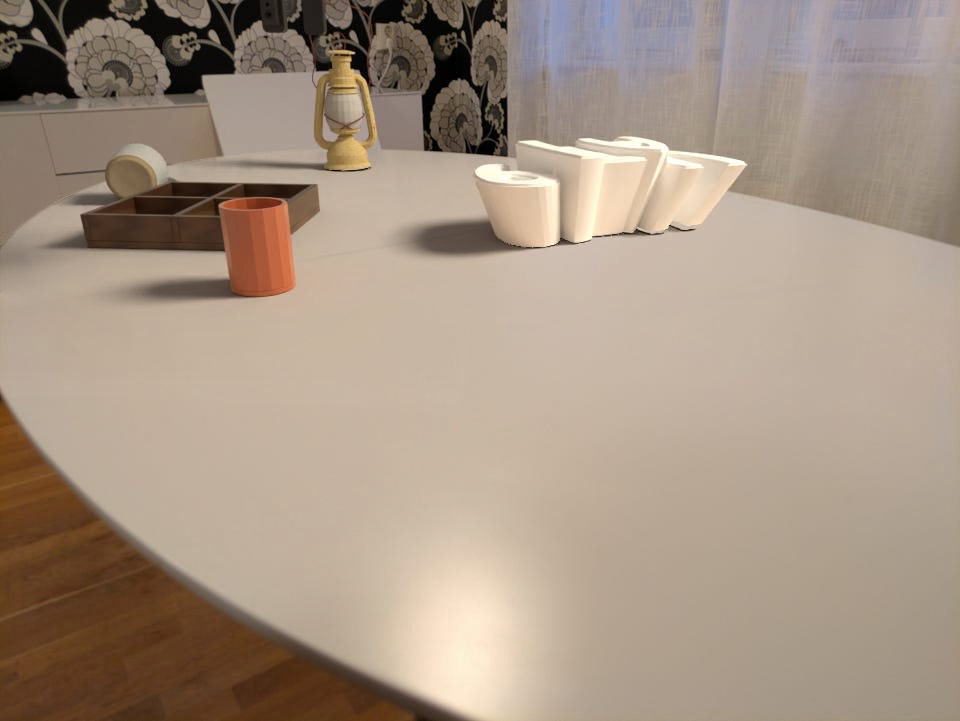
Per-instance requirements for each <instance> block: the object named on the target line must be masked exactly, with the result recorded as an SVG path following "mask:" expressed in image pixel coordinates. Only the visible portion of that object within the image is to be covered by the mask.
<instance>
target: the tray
mask: <svg viewBox="0 0 960 721" xmlns="http://www.w3.org/2000/svg"><path fill="white" fill-rule="evenodd" d="M319 195H320V194H319V185H318V183H280V182H279V183H277V182H275V183H274V182H273V183H272V182H228V181H227V182H222V181H221V182H220V181H181V182H173V181H168V182H165V183H163V184H160V185H157V186H155V187H152V188H149V189H147V190H144V191H141V192H139V193H136V194H133V195H131V196H128V197H126V198H123V199H120V198H119V199H118V200H115V201H112V202H110V203H107V204H105V205H101V206H99V207H96V208H94V209H91V210H89V211H86V212H83V213H80V214H79V216H80V217H79V218H80V221H81V224H82V229H83V233H84V238H85V241H86V245H87V246H86V247H87V248H93V247H94V248H97V249H100V248H101V249H141V250H144V249H147V250H190V251H193V250H194V251H197V250H198V251H225V246H224V240H223V233H222V226H221V220H220V213H219V206H218V205H219V204H220V203H222V202H225V201H229V200H233V199H240V198H251V197H271V198H279V199H283V200H286V202H287V206H288V215H289V224H290V233H291V236H292V235H293V234H294V233H295V232H296V231H298V230H299V229H300V228H301V227H303V226H304V225H305V224H306V223H308V222H309V221H310V220H311V219H312V218H314V217H315V216H316V215H317V214H318V213H319V212H321V208H320V196H319ZM94 248H93V249H94Z"/></svg>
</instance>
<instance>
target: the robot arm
mask: <svg viewBox="0 0 960 721" xmlns="http://www.w3.org/2000/svg"><path fill="white" fill-rule="evenodd" d="M286 2H287V1H286V0H259V9H260V18H261V27H262V30H263V31H264V32H265V33H267V34H286V33H287V32H288V30H289V24H288V14H287V13H288V12H287V4H286ZM325 3H326V0H301V8H302V18H303V19H302V20H303V30H304V32H305V34H307V35H308V36H309V35H310V36H325V35H326V34H327V32H328V27H327V12H326V5H325Z"/></svg>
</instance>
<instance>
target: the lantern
mask: <svg viewBox="0 0 960 721" xmlns="http://www.w3.org/2000/svg"><path fill="white" fill-rule="evenodd" d="M330 2H331V0H328V1H327V2H325V6H326V5H328V4H329V3H330ZM340 2H341V3H342V4H344V5H346V6H348V7H350V8H352V9H355V10H356V11H359V12H360V13H363V14H364V15H365V16H366V17H367V19H368V23H369V27H370V34H371V36H370V43H369V46H368V50H367V54H366V66H367V70H368V78H369V83H367V80H366V78H364V77H363V76H362V75H361V74H358V73H355V69H354V68H351V62H352V55H356V52H355V51H351V50H347V49H346V46H344V48H342V47H341V46H339V48H336V47H335V42H334V38H335V36H336V35H337V34H340V35H341V36H342V37H343V38H344V44H346V42H347V40H346V37H345V36H344V34H343V33H341V32H340V31H336V32H335V33H334V34H333V35H332V38H331V39H332V46H333V48H334V49H333V50H329V51H325V54H326V55H329V59H330V60H329V61H330V62H331V66H332V67H331V68H328V73H325V74H322V75H321V76H320V77H319V78H318V80H317V82H316V84H315V81H314V73H315V70H316V66H317V61H316V60H317V59H316V56H315V55H316V54H315V47H314V43H313V41H312V37H311V35H308V36H309V41H310V44H311V48H312V53H313V54H312V55H313V59H314V65H313V69H312V74H311V81H312V84H313V86H314V88H315V90H316V93H315V101H314V102H315V103H314V115H313V138H314V141H315V143H316V144H317V145H318V146H319V147H320V148H321V149H323V150H327V151H326V163H325V164H324V165H323V168H324V169H325V170H326V169H331V170H345V169H357V168H364V167H368V166H370V165H372V164H371V163H370V162H369V161H368V160H369V158H368V152H367V150H368V149H370V148H372V147H373V146H374V145H375V144H376V141H377V138H378V131H377V124H376V118H375V113H374V108H373V104H372V99H371V95H370V90H369V87H370V85H371V83H372V77H371V76H372V75H371V71H370V67H369V53H370V50H371V47H372V43H373V27H372V22H371V19H370V17H369V15H368V14H366V12H364V11H363V10H362V9H360V8H357V7H355V6H353V5H351V4H348V3H347V2H345V1H344V0H340ZM326 89H327V90H326ZM358 89H359V90H358ZM359 93H360V95H359ZM324 117H325V122H326V124H327V125H328V128H329V129H330V132H331V133H334V134H336V135H337V137H336V139H335V140H334V141H330V140H326V139H325V138H324V136H323V135H324V134H323V132H324V131H323V130H324V129H323V128H324ZM364 117H365V121H366V127H367V130H368V131H367V132H368V137H367V138H366V139H365V140H357V139H356V137H355V134H357V133H359V132H360V131H361V127H362V126H361V125H362V123H363V118H364Z"/></svg>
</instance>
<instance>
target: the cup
mask: <svg viewBox="0 0 960 721" xmlns="http://www.w3.org/2000/svg"><path fill="white" fill-rule="evenodd" d="M218 206H219V213H220V220H221V226H222V233H223V240H224V246H225V250H224V252H225V258H226V266H227V272H228V278H229V286H230V290H231V292H232V293H234V294H235V295H239V296H245V297H268V296H269V297H270V296H276V295H280V294H283V293H286V292H290V291H291V290H293V289H294V288H295V287H296V283H297V282H296V280H297V279H296V271H295V262H294V253H293V252H294V251H293V244H292V242H293V241H292V235H291V233H290V224H289V215H288V206H287V202H286V200H283V199H279V198H271V197H251V198H240V199H233V200H229V201H225V202H222V203H220V204H219V205H218Z"/></svg>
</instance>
